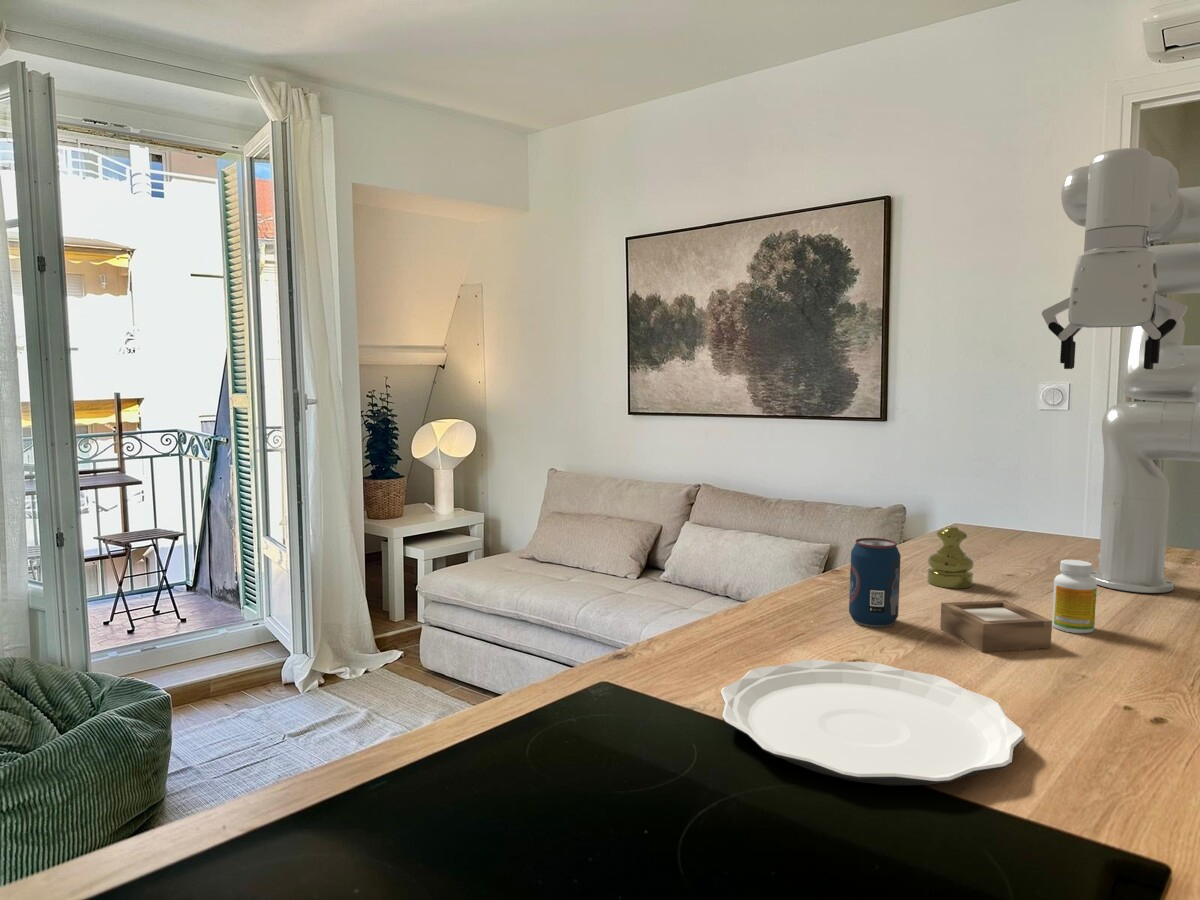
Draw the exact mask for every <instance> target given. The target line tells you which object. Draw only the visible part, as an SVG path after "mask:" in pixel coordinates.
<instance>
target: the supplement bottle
mask: <svg viewBox="0 0 1200 900" xmlns="http://www.w3.org/2000/svg"><path fill="white" fill-rule="evenodd" d="M1059 564H1060V565H1059V569H1060V572H1061V573H1060V574H1057V575H1056V576H1055V577H1054V579H1053V590H1052V591H1053V592H1052V606H1051V607H1052V608H1051V621H1052V627H1053V628H1055V629H1057V630H1059V631H1062V632H1067V633H1070V632H1071V634H1072V633H1073V634H1090V633H1093V632H1094V631H1095V619H1096V604H1097V603H1096V602H1097V591H1098V590H1097V589H1098V588H1097V583H1096V581H1095V580H1094V579H1093V578H1091V577H1090V575H1091V574H1092V571H1093V564H1092V563H1091V562H1088V561H1085V560H1079V559H1061V561H1060V563H1059Z"/></svg>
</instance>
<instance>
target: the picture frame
mask: <svg viewBox="0 0 1200 900" xmlns="http://www.w3.org/2000/svg"><path fill="white" fill-rule="evenodd" d="M939 624H940V627H939V629H940V628H941V629H940V630H942V629H943V630H945V631H946V632H945V631H944V632H945V633H947V632H948V633H947V634H949V633H950V634H952V635H954V636H956V637H957V638H956V637H955V638H956V639H958V638H959V639H961V640H963V641H964V642H963V641H962V642H963V643H965V642H966V643H965V644H967V643H968V644H970V645H972V646H973V647H972V646H971V647H972V648H974V647H975V648H974V649H976V648H977V649H979V650H980V652H981V651H982V652H981V653H990V652H989V651H994V652H1009V650H1013V651H1021V650H1020V649H1031V650H1040V649H1039V648H1049V649H1051V648H1052V631H1053V630H1052V627H1053V626H1052V619H1049V618H1047V617H1045V616H1042V615H1040V614H1037V613H1036V612H1033V611H1031V610H1030V609H1029V610H1028V609H1027V608H1023V607H1022V606H1019V605H1017V604H1015V603H1013V602H1010V601H1008V600H1004V599H1003V600H1001V599H999V600H980V601H979V600H978V601H956V602H941V606H940V623H939ZM943 630H942V631H943ZM950 634H949V635H950ZM952 635H951V636H952ZM954 636H953V637H954ZM959 639H958V640H959ZM961 640H960V641H961ZM968 644H967V645H968ZM970 645H969V646H970ZM977 649H976V650H977ZM979 650H978V651H979Z"/></svg>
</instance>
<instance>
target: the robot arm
mask: <svg viewBox="0 0 1200 900" xmlns="http://www.w3.org/2000/svg"><path fill="white" fill-rule="evenodd" d="M1060 194H1061V195H1060V196H1061V198H1060V200H1061V206H1062V208H1063V211H1064V214H1065V215H1066V216H1067V218H1068V219H1069V220H1070V221H1071V222H1073V223H1074V224H1075V225H1076V226H1080V227H1084V245H1083V246H1084V247H1083V254H1082V255H1081V254H1080V255H1078V257H1077V259H1076V260H1077V261H1076V264H1075V267H1074V272H1073V278H1072V282H1071V283H1072V284H1071V289H1070V295H1069V297H1067V298H1065V299H1063V300H1062V301H1059V302H1057V303H1056V304H1053V305H1051V306H1049V307H1047V308H1044V310H1042V311H1041V315H1042V318H1043V319H1044V322H1045V323H1046V326H1048V327H1047V328H1048V330H1050V332H1051V333H1053V334H1054V335H1055V336H1056V337H1057V338H1058V340H1059V341H1060V353H1059V354H1060V357H1059V358H1060V359H1059V363H1060V364H1063V368H1064V370H1073V369H1074V368H1075V364H1076V363H1075V360H1076V345H1077V344H1076V341H1074V337H1075V336H1076V335H1077V334H1078V333H1079V332H1080V331H1081V330H1082V329H1083V328H1091V329H1092V328H1094V329H1095V328H1097V329H1098V328H1126V336H1125V337H1126V338H1125V342H1124V348H1123V356H1122V361H1121V368H1120V378H1119V384H1120V388H1121V391H1122V393H1123V394H1124V395H1125V396H1127V397H1128V398H1131V399H1134V400H1139V401H1127V402H1126V401H1125V402H1121V403H1117V404H1115V405H1112V406H1111V407H1109V408H1108V409H1107V410H1106V411H1105V413H1104V414H1103V418H1102V421H1101V434H1102V435H1101V436H1102V445H1103V455H1104V483H1103V497H1102V500H1103V501H1102V515H1101V529H1100V530H1101V531H1100V545H1099V554H1098V555H1097V556H1096V559H1097V560H1098V562H1099V563H1098V569H1094V570H1093V569H1092V574H1091V575H1090V577H1091V578H1093V579H1094V580H1095V581H1096V583H1097V585H1098V586H1102V587H1105V588H1109V589H1113V590H1118V591H1125V592H1131V593H1132V592H1133V593H1140V594H1141V593H1142V594H1143V593H1144V594H1146V593H1147V594H1162V593H1169V592H1172V591H1173V590H1174V587H1175V583H1174V581H1173V580H1171V579H1170V578H1167V577H1165V576H1164V575H1165V561H1166V549H1167V535H1168V534H1167V533H1168V520H1169V505H1170V493H1171V490H1170V484H1169V480H1168V479H1167V477H1166V476H1165V475H1164V473H1163V472H1162V471H1161V470H1160V469H1159V467H1158V466H1157V465H1156V463H1154V461H1155V460H1168V461H1185V462H1200V345H1194V344H1192V345H1186V344H1185V345H1184V337H1185V332H1186V331H1185V330H1186V325H1185V321H1184V320H1183V319H1182V318H1184V316H1185V314H1186V313H1187V310H1188V306H1187V305H1185V304H1183V303H1180V302H1178V301H1175V300H1173V299H1170V298H1168V297H1165V296H1164V295H1178V294H1179V295H1182V294H1200V242H1191V243H1177V244H1176V243H1174V244H1173V243H1172V244H1162V245H1152V244H1157V243H1158V244H1159V243H1168V242H1169V243H1171V242H1183V241H1186V242H1187V241H1194V240H1195V241H1197V240H1200V185H1199V186H1193V187H1184V188H1180V174H1179V171H1178V169H1177V167H1176V166H1174V165H1173V163H1172V162H1171V161H1170V160H1168V159H1166V158H1164V157H1162V156H1157V155H1156V156H1154V155H1152V153H1151V152H1150V151H1149V150H1148V149H1145V148H1140V147H1129V148H1128V147H1125V148H1117V149H1112V150H1108V151H1107V150H1106V151H1104V152H1101V153H1099V154H1097V155H1095V156H1094V157H1093V158H1092V159H1091V161H1090V163H1089V165H1085V166H1080V167H1077V168H1075V169H1073V170H1072V171H1070V172H1069V173H1068V174H1067V176H1066V177H1065V178H1064V180H1063V183H1062V187H1061V193H1060ZM1066 310H1068V322H1069V323H1068V324H1067V325H1066V327H1065V328H1064V327H1063V326H1062V325H1061V324H1060V323H1059V322H1058V320H1057V315H1059V314H1060V313H1062V312H1064V311H1066Z"/></svg>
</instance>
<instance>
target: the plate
mask: <svg viewBox="0 0 1200 900" xmlns="http://www.w3.org/2000/svg"><path fill="white" fill-rule="evenodd" d="M720 696H721V698H722V701H723V702H724V707H723V712H722V715H721V716H722V717H721V718H722V720H723V721H724V723H725V724H726V725H728V726H730V727H731V728H733V729H735V730H737V731H739V732H740V733H742V734H745V735H746V736H747V737H749V738H750V739H751V741H753V742H754V743H755V745H757V746H758V747H759V748H760V749H761V750H762V751H763V752H765V753H768V754H770V755H773V756H774V757H777V758H780V759H783V760H785V761H786V762H788V763H790V764H792V765H796V766H798V767H801V768H804V769H806V770H809V771H811V772H813V773H818V774H821V775H825V776H829V777H833V778H838V779H842V780H847V781H849V782H855V783H865V784H873V785H883V786H928V785H934V784H944V783H951V782H953V781H956V780H959V779H962V778H966V777H972V776H976V775H979V774H984V773H988V772H992V771H997V770H1001V769H1005V768H1007V767H1008V766H1010V765H1012V761H1013V755H1014V753H1013V752H1014V749H1015V748H1016V747H1018V745H1019V744H1021V743H1022V742H1023V741H1025V739H1026V734H1025V731H1024V730H1023V729H1022V728H1021V727H1020V726H1018V725H1017V724H1016V723H1015V722H1013V720H1012V719H1010V718H1008V716H1007V714H1006V712H1005V711H1004V709H1003V707H1002V706H1001V704H1000V703H998V702H996V701H995V700H993V699H992V698H990V697H988V696H985V695H982V694H980V693H977V692H973V691H971V690H969V689H966V688H963V687H962V686H961V685H958V684H957V683H954V682H952V681H951V680H949V679H947V678H945V677H941V676H938V675H935V674H930V673H925V672H919V671H912V670H906V669H903V668H902V669H901V668H897V667H895V666H890V665H887V664H884V663H883V664H882V663H879V662H872V661H871V662H870V661H833V660H823V659H822V660H821V659H802V660H799V661H794V662H790V663H789V662H788V663H787V664H786V663H785V664H781V665H770V666H759V667H756V668H753V669H751V670H749V671H748V672H747V673H746V674H745V675H743V676H742V678H740V679H738V680H736V681H734V682H732V683H730V684H728V685H726V686H724V687H722V688H721V690H720Z"/></svg>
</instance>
